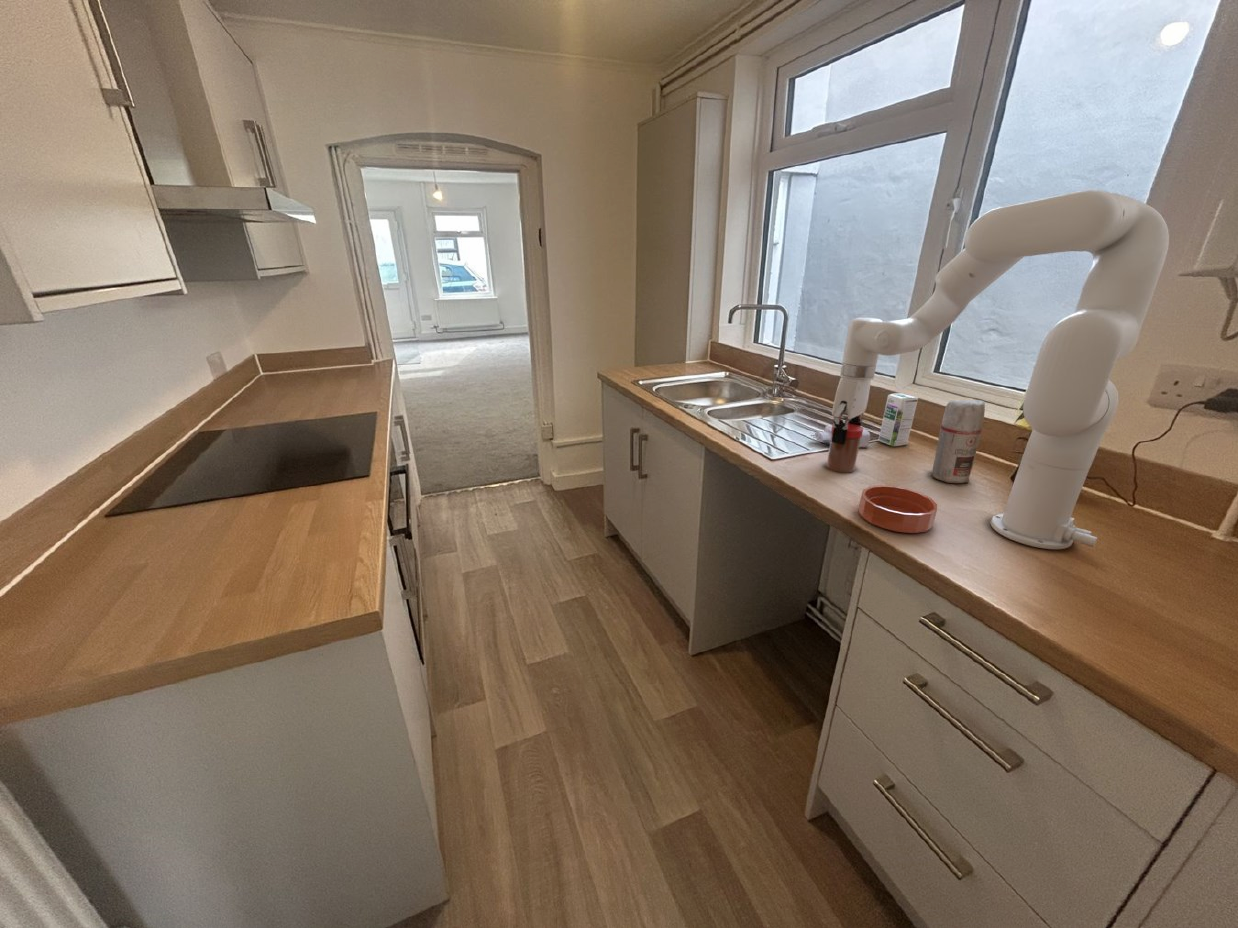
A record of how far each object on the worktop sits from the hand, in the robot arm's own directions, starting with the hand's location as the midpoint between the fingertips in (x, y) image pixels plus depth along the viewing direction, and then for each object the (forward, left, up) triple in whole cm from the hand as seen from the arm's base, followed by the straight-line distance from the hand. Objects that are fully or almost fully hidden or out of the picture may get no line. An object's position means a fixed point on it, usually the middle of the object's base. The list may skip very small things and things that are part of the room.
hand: (845, 439), depth 124 cm
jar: (0, 0, -8) cm, 8 cm away
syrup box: (+1, -30, -8) cm, 31 cm away
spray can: (-20, -15, -8) cm, 26 cm away
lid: (0, 0, +3) cm, 3 cm away
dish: (-22, +17, -8) cm, 29 cm away
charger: (+11, -16, -8) cm, 21 cm away
